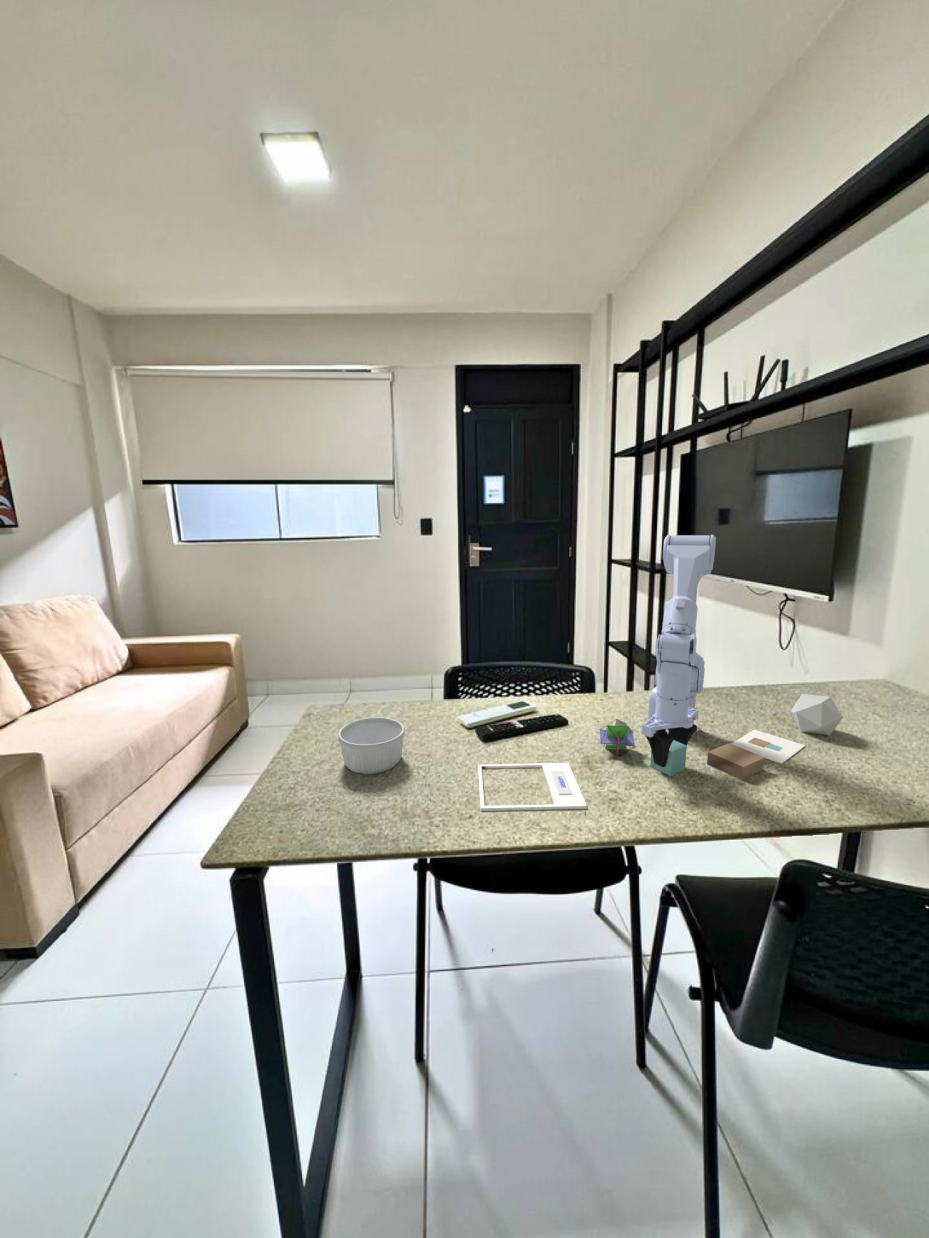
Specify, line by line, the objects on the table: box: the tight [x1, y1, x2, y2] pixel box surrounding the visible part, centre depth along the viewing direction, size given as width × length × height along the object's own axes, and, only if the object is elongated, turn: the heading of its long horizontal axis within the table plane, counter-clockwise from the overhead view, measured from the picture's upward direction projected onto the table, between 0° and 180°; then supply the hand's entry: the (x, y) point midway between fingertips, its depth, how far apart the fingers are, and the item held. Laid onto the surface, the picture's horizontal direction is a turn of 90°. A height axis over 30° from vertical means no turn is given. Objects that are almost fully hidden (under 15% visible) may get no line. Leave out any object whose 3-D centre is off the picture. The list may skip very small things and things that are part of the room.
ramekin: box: [337, 716, 405, 775], centre depth 98 cm, size 13×13×7 cm
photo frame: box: [477, 762, 588, 812], centre depth 88 cm, size 15×1×18 cm
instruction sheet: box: [731, 729, 806, 765], centre depth 102 cm, size 10×12×1 cm
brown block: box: [706, 742, 766, 781], centre depth 93 cm, size 7×7×3 cm
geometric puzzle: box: [599, 718, 636, 758], centre depth 100 cm, size 7×7×8 cm
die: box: [790, 693, 844, 737], centre depth 107 cm, size 8×9×10 cm
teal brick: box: [649, 740, 688, 777], centre depth 93 cm, size 4×4×5 cm
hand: (667, 761), depth 94 cm, fingers closed on teal brick, 4 cm apart
